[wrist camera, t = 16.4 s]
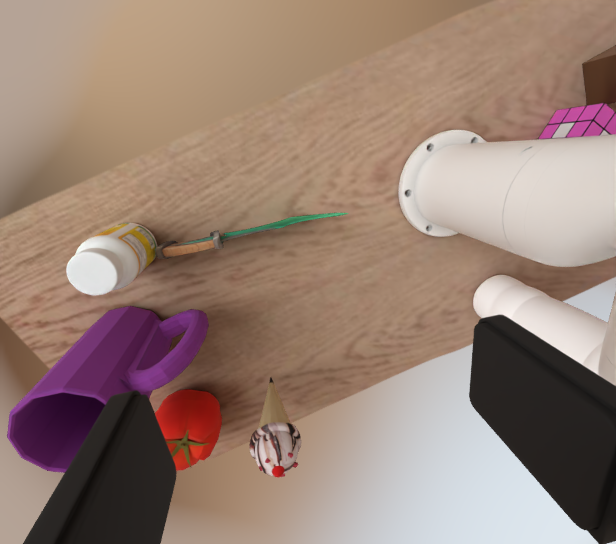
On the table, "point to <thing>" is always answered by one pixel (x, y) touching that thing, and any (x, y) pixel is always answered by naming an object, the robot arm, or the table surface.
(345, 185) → the table surface
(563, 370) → the robot arm
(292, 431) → the ice cream cone
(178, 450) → the tomato
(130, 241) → the supplement bottle
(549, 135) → the puzzle toy
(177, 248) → the knife
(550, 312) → the water bottle
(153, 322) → the mug
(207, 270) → the table surface
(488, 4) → the table surface
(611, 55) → the walnut block
